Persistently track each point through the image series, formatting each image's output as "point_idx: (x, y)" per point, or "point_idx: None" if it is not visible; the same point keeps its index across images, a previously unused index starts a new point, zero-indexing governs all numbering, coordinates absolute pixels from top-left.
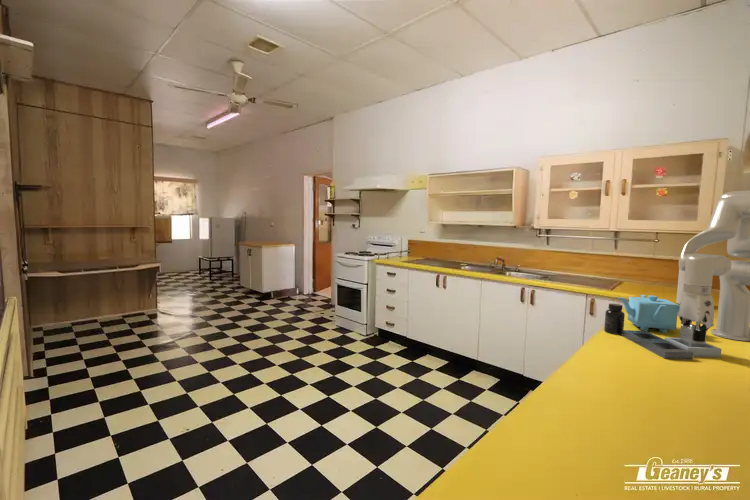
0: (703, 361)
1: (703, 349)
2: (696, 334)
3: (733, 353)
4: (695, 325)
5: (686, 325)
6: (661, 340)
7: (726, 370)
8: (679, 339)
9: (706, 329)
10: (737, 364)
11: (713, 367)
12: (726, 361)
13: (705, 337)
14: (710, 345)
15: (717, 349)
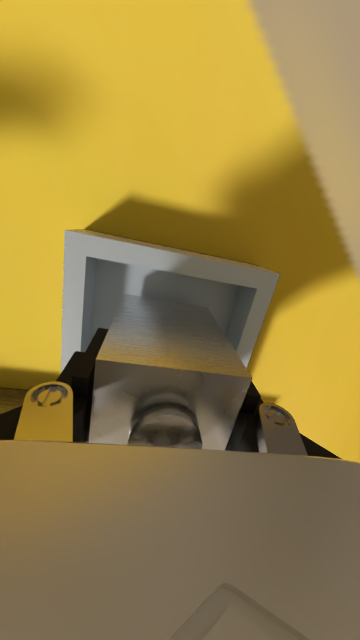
0: (271, 387)
1: (244, 362)
2: None
3: (225, 86)
4: (172, 439)
5: (91, 437)
6: None
7: (351, 383)
8: (81, 351)
9: (306, 448)
10: (337, 279)
11: (319, 401)
12: (299, 293)
13: (225, 341)
14: (217, 280)
15: (270, 297)
